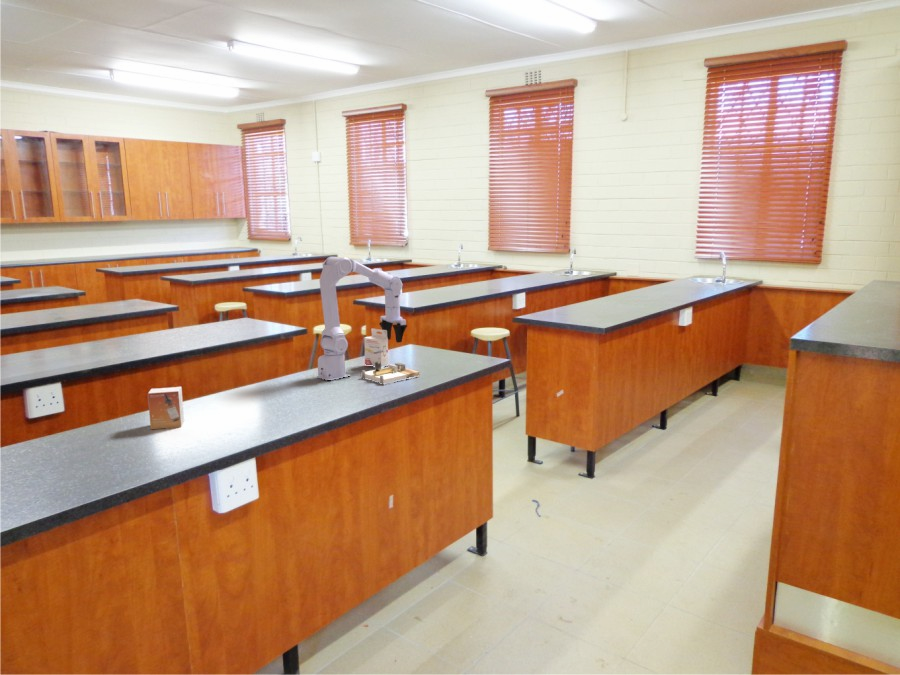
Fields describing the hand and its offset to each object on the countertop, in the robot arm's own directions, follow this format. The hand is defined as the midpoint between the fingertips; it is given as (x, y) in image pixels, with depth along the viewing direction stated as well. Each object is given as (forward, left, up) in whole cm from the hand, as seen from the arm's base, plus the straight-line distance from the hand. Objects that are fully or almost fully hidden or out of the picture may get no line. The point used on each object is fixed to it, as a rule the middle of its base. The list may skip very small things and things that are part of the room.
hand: (393, 340), depth 238 cm
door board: (-16, -14, -10) cm, 24 cm away
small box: (-91, -13, -10) cm, 92 cm away
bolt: (-16, -14, -8) cm, 23 cm away
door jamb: (-8, -14, -10) cm, 19 cm away
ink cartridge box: (-6, +4, -10) cm, 12 cm away
